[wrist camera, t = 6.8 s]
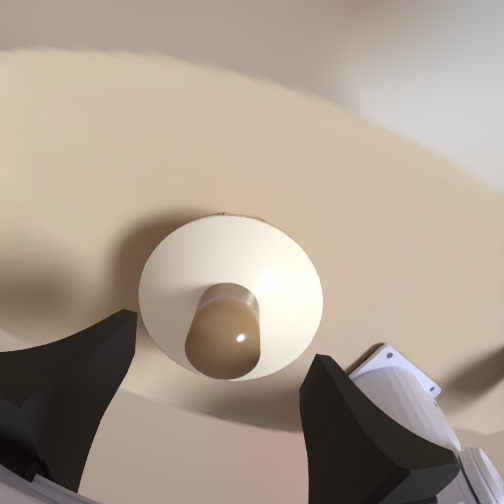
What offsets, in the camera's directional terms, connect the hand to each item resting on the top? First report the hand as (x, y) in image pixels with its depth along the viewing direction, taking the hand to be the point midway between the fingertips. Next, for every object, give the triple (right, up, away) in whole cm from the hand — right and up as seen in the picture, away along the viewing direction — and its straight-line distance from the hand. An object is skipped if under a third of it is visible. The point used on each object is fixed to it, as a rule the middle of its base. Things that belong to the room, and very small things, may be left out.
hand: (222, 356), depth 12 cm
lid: (0, +1, +4) cm, 4 cm away
